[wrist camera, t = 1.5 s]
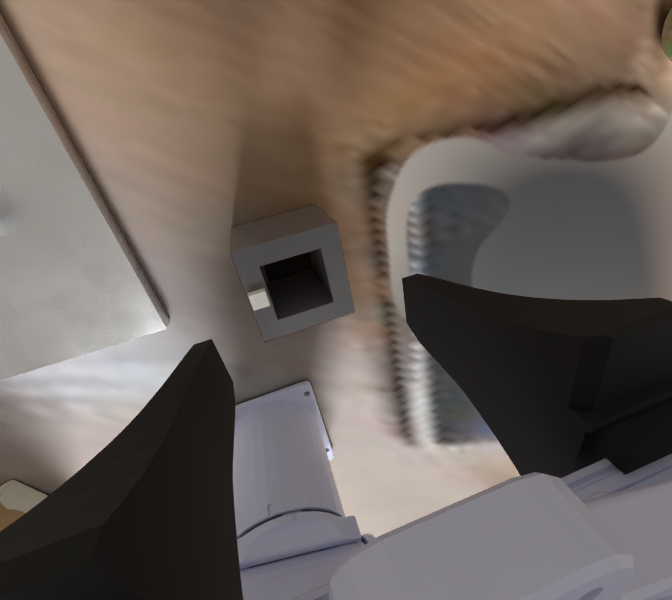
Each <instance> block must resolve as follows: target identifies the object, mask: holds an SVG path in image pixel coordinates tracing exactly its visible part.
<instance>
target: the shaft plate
mask: <svg viewBox="0 0 672 600" xmlns="http://www.w3.org/2000/svg"><path fill="white" fill-rule="evenodd" d="M169 321H170V320H169V318H168V316H167V315H166V313H165V311H164V309H163V307H162V305H161V304H160V302H159V300H158V298H157V296H156V295H155V293H154V291H153V289H152V287H151V285H150V284H149V282H148V280H147V278H146V276H145V275H144V273H143V271H142V269H141V267H140V265H139V264H138V262H137V260H136V258H135V256H134V255H133V253H132V251H131V249H130V247H129V245H128V244H127V242H126V240H125V238H124V236H123V235H122V233H121V231H120V229H119V227H118V225H117V224H116V222H115V220H114V218H113V216H112V215H111V213H110V211H109V209H108V207H107V206H106V204H105V202H104V200H103V198H102V196H101V195H100V193H99V191H98V189H97V187H96V186H95V184H94V182H93V180H92V178H91V176H90V175H89V173H88V171H87V169H86V167H85V166H84V164H83V162H82V160H81V158H80V156H79V155H78V153H77V151H76V149H75V147H74V146H73V144H72V142H71V140H70V138H69V136H68V135H67V133H66V131H65V129H64V127H63V126H62V124H61V122H60V120H59V118H58V116H57V115H56V113H55V111H54V109H53V107H52V106H51V104H50V102H49V100H48V98H47V96H46V95H45V93H44V91H43V89H42V87H41V86H40V84H39V82H38V80H37V78H36V76H35V75H34V73H33V71H32V69H31V67H30V66H29V64H28V62H27V60H26V58H25V56H24V55H23V53H22V51H21V49H20V47H19V46H18V44H17V42H16V40H15V38H14V36H13V35H12V33H11V31H10V29H9V27H8V26H7V24H6V22H5V20H4V18H3V16H2V15H1V13H0V380H3V379H6V378H9V377H12V376H15V375H19V374H22V373H25V372H28V371H32V370H35V369H38V368H41V367H45V366H48V365H51V364H54V363H57V362H61V361H64V360H67V359H70V358H74V357H77V356H80V355H83V354H87V353H90V352H93V351H96V350H100V349H103V348H106V347H109V346H112V345H116V344H119V343H122V342H125V341H129V340H132V339H135V338H138V337H142V336H145V335H148V334H151V333H155V332H158V331H161V330H164V329H167V327H168V324H169Z"/></svg>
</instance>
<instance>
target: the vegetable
mask: <svg viewBox="0 0 672 600" xmlns="http://www.w3.org/2000/svg"><path fill="white" fill-rule="evenodd" d="M661 41H662V47H663V50H664V52H665V54H666V55H667V56H668V58H669V59H670V60H671V61H672V8H671V10H670V11H669V13H668V15H667V17H666V20H665V23H664V27H663V32H662V39H661Z"/></svg>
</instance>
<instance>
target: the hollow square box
mask: <svg viewBox="0 0 672 600" xmlns="http://www.w3.org/2000/svg"><path fill="white" fill-rule="evenodd" d="M307 252H309V253H310V257H311V261H312V265H313V270H310V271H306V272H303V273H300V274H296V275H293V276H290V277H286V278H283V279H280V280H277V281H273V282H270V283H269V281H268V278H267V275H266V272H265V269H264V266H263V265H266V264H269V263H273V262H276V261H280V260H283V259H286V258H290V257H293V256H297V255H300V254H304V253H307ZM230 254H231V257H232V259H233V262H234V264H235V267H236V270H237V272H238V275H239V277H240V280H241V282H242V285H243V288H244V290H245V293H246V295H247V298H248V300H249V303H250V305H251V308H252V311H253V313H254V316H255V318H256V321H257V323H258V326H259V329H260V331H261V334H262V336H263V339H264V341H265V342H266V341H269V340H272V339H275V338H278V337H281V336H284V335H287V334H290V333H293V332H296V331H299V330H302V329H305V328H308V327H311V326H314V325H317V324H320V323H324V322H327V321H330V320H333V319H336V318H339V317H342V316H345V315H348V314H351V313H354V312H355V311H354V306H353V301H352V296H351V291H350V286H349V281H348V276H347V271H346V266H345V262H344V257H343V252H342V247H341V242H340V237H339V232H338V227H337V222H335V221H334V220H333V219H332V218H330V217H329V216H328V215H326V214H325V213H324V212H323V211H321V210H320V209H319V208H318V207H316V206H315V205H311V206H307V207H303V208H300V209H296V210H292V211H289V212H285V213H281V214H277V215H274V216H270V217H266V218H263V219H259V220H255V221H252V222H248V223H244V224H241V225H237V226H233V227H232V228H231V243H230Z"/></svg>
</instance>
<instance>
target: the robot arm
mask: <svg viewBox="0 0 672 600" xmlns="http://www.w3.org/2000/svg"><path fill="white" fill-rule="evenodd" d="M402 282H403V292H404V301H405V311H406V321H407V324H408V325H409V327H410V328H411V330H412V332H413V333H414V335H415V336H416V337H417V339H418V340H419V342H420V343H421V344H422V345H423V346H424V348H425V349H426V350H427V351H428V352H429V353H430V354H431V355H432V356H433V358H434V359H435V360H436V361H437V362H438V363H439V364H440V365H441V366H442V367H443V369H444V370H445V371H446V372H447V373H448V374H449V375H450V376H451V377H452V378H453V380H454V381H455V382H456V383H457V384H458V385H459V386H460V388H461V389H462V390H463V391H464V393H465V394H466V395H467V397H468V398H469V399H470V401H471V402H472V404H473V405H474V406H475V408H476V409H477V410H478V412H479V413H480V415H481V416H482V417H483V419H484V420H485V422H486V423H487V425H488V426H489V428H490V429H491V430H492V432H493V433H494V435H495V436H496V438H497V439H498V441H499V442H500V444H501V445H502V447H503V449H504V450H505V452H506V453H507V455H508V456H509V458H510V459H511V461H512V462H513V464H514V465H515V467H516V469H517V470H518V472H519V474H520V475H521V476H519V477H515V478H511V479H509V480H507V481H504V482H502V483H500V484H497V485H495V486H493V487H491V488H488V489H486V490H484V491H481V492H479V493H477V494H475V495H472V496H470V497H468V498H465V499H463V500H461V501H459V502H456V503H454V504H452V505H449V506H447V507H445V508H443V509H440V510H438V511H436V512H433V513H431V514H429V515H427V516H424V517H422V518H420V519H417V520H415V521H413V522H411V523H408V524H406V525H404V526H401V527H399V528H397V529H395V530H392V531H390V532H388V533H385V534H383V535H381V536H379V537H377V538H376V537H374V536H373V535H371V534H364V535H361V534H360V531H359V528H358V525H357V521H356V518H355V516H349V517H345V514H344V511H343V508H342V504H341V501H340V497H339V494H338V490H337V487H336V483H335V480H334V477H333V473H332V470H331V466H330V463H329V461H330V460H332V459H333V457H334V454H333V451H332V448H331V445H330V442H329V439H328V435H327V432H326V429H325V426H324V423H323V420H322V417H321V414H320V411H319V408H318V405H317V402H316V399H315V396H314V393H313V390H312V387H311V384H310V382H308V381H303V382H300V383H297V384H295V385H292V386H289V387H286V388H283V389H280V390H278V391H275V392H272V393H269V394H266V395H264V396H261V397H258V398H255V399H252V400H249V401H247V402H244V403H241V404H238V405H235V396H234V387H233V381H232V379H231V377H230V375H229V373H228V371H227V369H226V367H225V365H224V363H223V361H222V359H221V357H220V355H219V353H218V351H217V349H216V347H215V345H214V343H213V341H212V339H210V340H207V341H204V342H201V343H198V344H195V345H193V346H192V348H191V349H190V350H189V351H188V353H187V354H186V355H185V356H184V358H183V359H182V361H181V362H180V363H179V365H178V366H177V367H176V369H175V370H174V371H173V372H172V374H171V375H170V376H169V378H168V379H167V380H166V382H165V383H164V384H163V386H162V387H161V388H160V389H159V390H158V392H157V393H156V394H155V395H154V396H153V398H152V399H151V400H150V401H149V402H148V403H147V405H146V406H145V407H144V408H143V409H142V411H141V412H140V413H139V414H138V415H137V416H136V417H135V418H134V419H133V420H132V421H131V423H130V424H129V425H128V426H127V427H126V428H125V429H124V430H123V431H122V432H121V433H120V434H119V435H118V436H117V437H116V438H115V439H114V440H113V441H112V442H111V443H109V444H108V445H107V446H106V447H105V448H104V449H103V450H102V451H101V452H99V453H98V454H97V455H96V456H95V457H94V458H93V459H92V460H91V461H89V462H88V463H87V464H86V465H85V466H84V467H83V468H82V469H81V470H79V471H78V472H77V473H76V474H75V475H73V476H72V477H71V478H70V479H69V480H67V481H66V482H65V483H64V484H62V485H61V486H60V487H59V488H58V489H56V490H55V491H54V492H53V493H51V494H50V495H49V496H47V497H46V498H45V499H44V500H42V501H41V502H40V503H38V504H37V505H36V506H35V507H33V508H32V509H31V510H29V511H28V512H27V513H25V514H24V515H23V516H21V517H20V518H18V519H17V520H16V521H14V522H13V523H11V524H10V525H9V526H7V527H6V528H4V529H3V530H2V531H0V600H672V302H671V301H669V300H666V299H662V298H646V299H625V300H560V299H544V298H533V297H524V296H516V295H509V294H502V293H496V292H491V291H487V290H482V289H477V288H473V287H469V286H465V285H461V284H457V283H453V282H449V281H446V280H442V279H438V278H434V277H430V276H426V275H421V274H415V275H412V276H408V277H405V278H402ZM306 391H309V392H307V393H304V392H306Z"/></svg>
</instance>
